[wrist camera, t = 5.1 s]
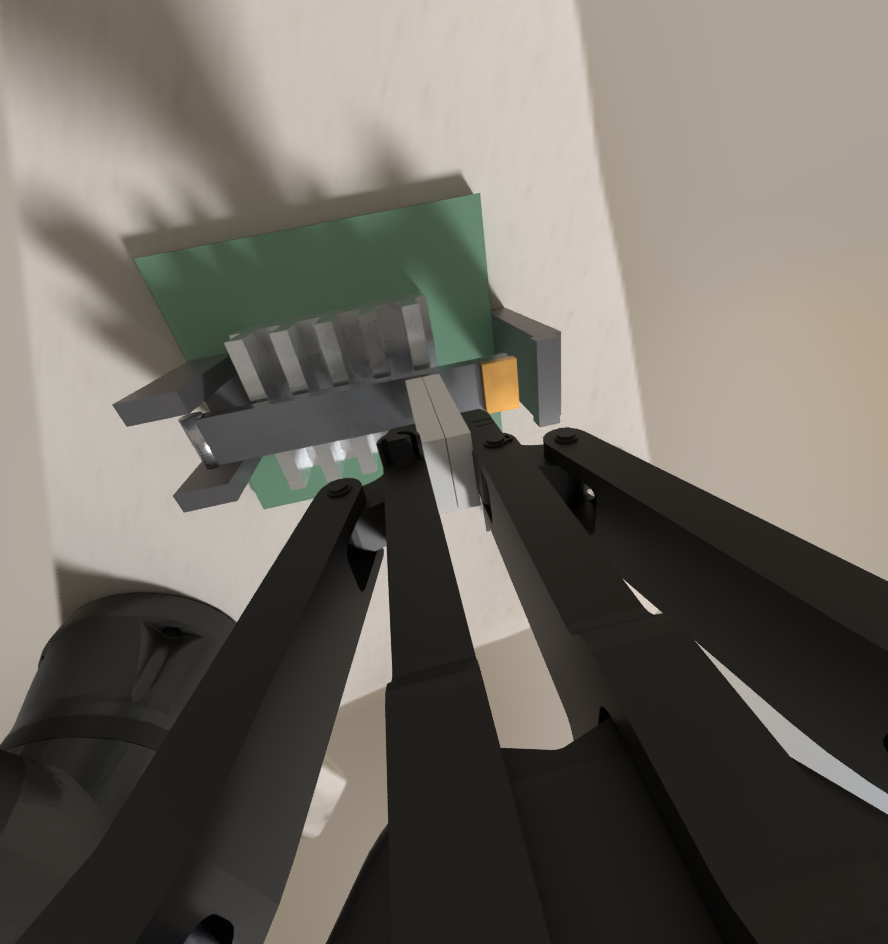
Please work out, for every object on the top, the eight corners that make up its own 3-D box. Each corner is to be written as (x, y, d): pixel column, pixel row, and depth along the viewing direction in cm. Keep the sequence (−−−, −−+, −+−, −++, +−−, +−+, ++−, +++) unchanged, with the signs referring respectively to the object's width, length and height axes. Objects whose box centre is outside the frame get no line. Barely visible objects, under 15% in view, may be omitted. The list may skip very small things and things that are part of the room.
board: (268, 499, 28) (263, 509, 27) (146, 258, 20) (133, 258, 19) (500, 448, 29) (504, 455, 28) (474, 196, 21) (479, 192, 20)
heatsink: (298, 449, 25) (280, 493, 21) (246, 325, 21) (210, 345, 17) (443, 418, 26) (457, 454, 21) (420, 290, 22) (431, 300, 17)
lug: (489, 373, 26) (539, 427, 18) (483, 311, 24) (536, 341, 16) (509, 369, 26) (567, 421, 18) (504, 307, 24) (568, 334, 16)
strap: (211, 461, 19) (199, 475, 18) (184, 414, 18) (170, 425, 17) (512, 400, 19) (519, 409, 18) (508, 349, 18) (516, 356, 17)
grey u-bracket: (234, 445, 25) (183, 512, 18) (190, 360, 22) (112, 404, 15) (273, 437, 25) (237, 500, 18) (235, 351, 22) (176, 391, 15)
